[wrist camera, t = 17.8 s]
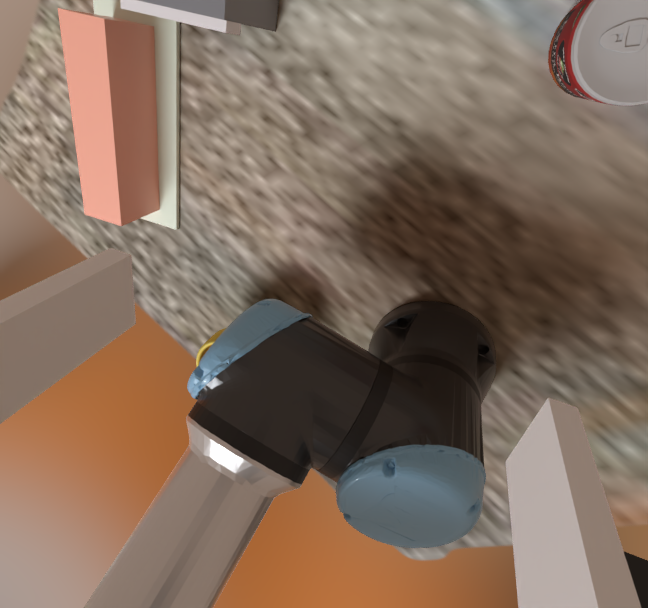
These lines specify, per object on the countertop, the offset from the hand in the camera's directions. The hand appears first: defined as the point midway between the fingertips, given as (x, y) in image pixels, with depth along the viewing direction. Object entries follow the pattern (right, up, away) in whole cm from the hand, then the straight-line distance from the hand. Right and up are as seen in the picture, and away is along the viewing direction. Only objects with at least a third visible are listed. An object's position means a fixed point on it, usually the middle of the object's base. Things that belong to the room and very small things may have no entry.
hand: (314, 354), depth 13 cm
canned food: (+23, +23, +21) cm, 39 cm away
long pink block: (-21, +23, +36) cm, 48 cm away
